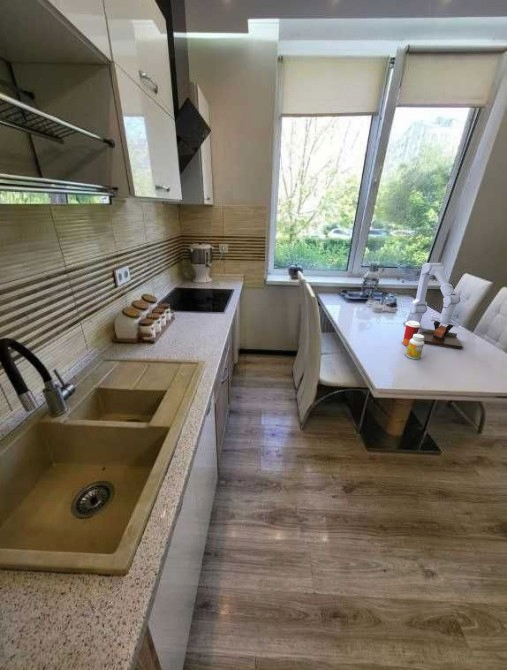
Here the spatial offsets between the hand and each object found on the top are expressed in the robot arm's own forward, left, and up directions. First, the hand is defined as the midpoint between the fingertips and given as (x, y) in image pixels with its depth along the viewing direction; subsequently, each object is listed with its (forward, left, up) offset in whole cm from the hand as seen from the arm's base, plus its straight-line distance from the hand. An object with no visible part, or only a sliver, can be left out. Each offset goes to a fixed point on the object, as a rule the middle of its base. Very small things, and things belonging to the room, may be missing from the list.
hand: (440, 334), depth 172 cm
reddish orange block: (0, 0, 0) cm, 0 cm away
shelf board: (0, -2, -4) cm, 4 cm away
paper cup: (-19, -15, -4) cm, 25 cm away
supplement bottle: (-18, -31, -4) cm, 36 cm away
